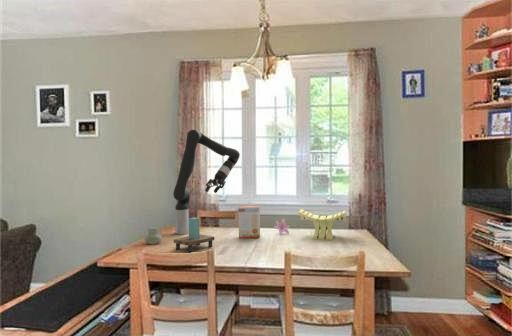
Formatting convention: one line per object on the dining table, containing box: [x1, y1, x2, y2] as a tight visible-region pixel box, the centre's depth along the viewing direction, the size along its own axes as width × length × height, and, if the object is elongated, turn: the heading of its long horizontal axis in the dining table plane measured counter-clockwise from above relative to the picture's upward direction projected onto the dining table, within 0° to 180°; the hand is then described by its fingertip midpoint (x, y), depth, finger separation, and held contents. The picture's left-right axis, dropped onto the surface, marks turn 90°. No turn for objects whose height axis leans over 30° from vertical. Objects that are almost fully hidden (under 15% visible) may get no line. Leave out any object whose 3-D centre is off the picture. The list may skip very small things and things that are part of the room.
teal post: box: [188, 217, 201, 239], centre depth 243 cm, size 4×4×12 cm
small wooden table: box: [173, 233, 215, 253], centre depth 244 cm, size 14×20×6 cm
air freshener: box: [144, 226, 163, 245], centre depth 258 cm, size 11×8×10 cm
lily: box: [273, 218, 291, 235], centre depth 286 cm, size 12×12×10 cm
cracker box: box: [237, 205, 261, 239], centre depth 273 cm, size 14×6×21 cm, turn 84°
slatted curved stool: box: [297, 208, 347, 241], centre depth 271 cm, size 30×16×18 cm, turn 75°
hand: (210, 191), depth 268 cm, fingers open, 8 cm apart
